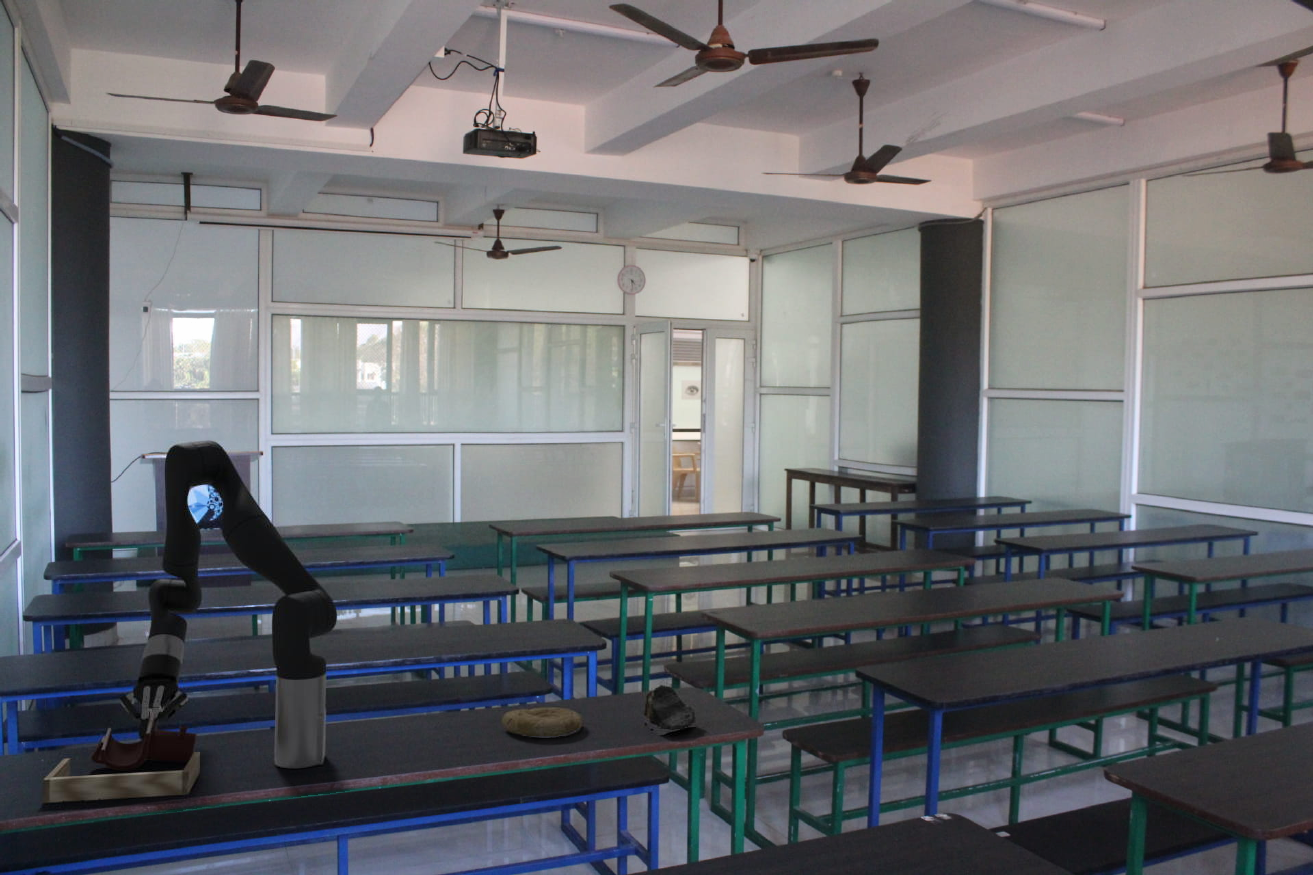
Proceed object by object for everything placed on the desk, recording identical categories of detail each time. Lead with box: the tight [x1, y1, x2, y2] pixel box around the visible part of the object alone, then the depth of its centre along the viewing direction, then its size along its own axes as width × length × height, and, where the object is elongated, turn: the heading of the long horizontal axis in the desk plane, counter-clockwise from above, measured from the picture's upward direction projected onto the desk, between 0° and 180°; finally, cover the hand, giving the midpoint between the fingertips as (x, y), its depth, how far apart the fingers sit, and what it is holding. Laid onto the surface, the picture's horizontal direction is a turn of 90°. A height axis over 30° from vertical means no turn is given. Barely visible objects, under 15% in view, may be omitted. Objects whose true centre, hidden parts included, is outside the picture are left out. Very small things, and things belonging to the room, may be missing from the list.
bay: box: [42, 751, 201, 804], centre depth 181 cm, size 23×11×4 cm, turn 104°
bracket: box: [91, 712, 197, 772], centre depth 192 cm, size 6×17×10 cm, turn 113°
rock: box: [643, 684, 697, 730], centre depth 226 cm, size 14×11×10 cm
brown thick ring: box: [501, 706, 584, 736], centre depth 221 cm, size 17×15×5 cm
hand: (146, 739), depth 196 cm, fingers closed
